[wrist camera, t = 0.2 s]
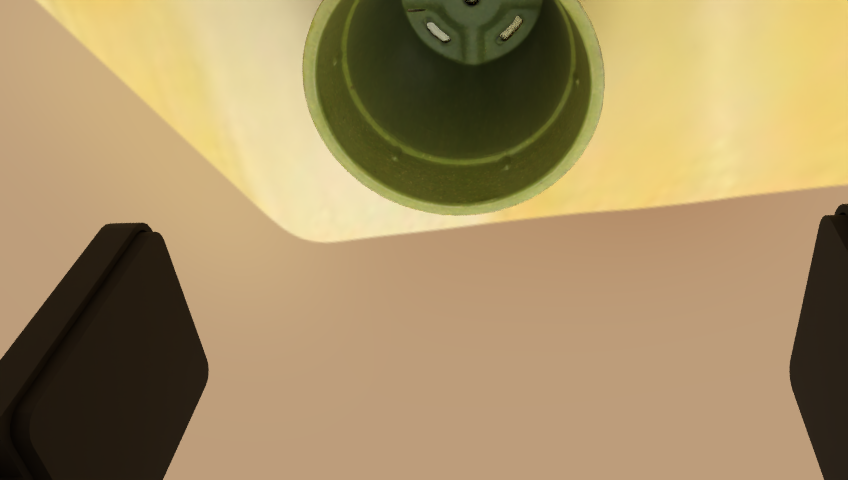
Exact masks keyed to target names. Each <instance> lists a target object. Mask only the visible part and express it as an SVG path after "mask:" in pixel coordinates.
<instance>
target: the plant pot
mask: <svg viewBox="0 0 848 480" xmlns="http://www.w3.org/2000/svg"><path fill="white" fill-rule="evenodd" d="M408 9H427V10H425V11H419V12H408V11H407V10H408ZM516 16H519V17H520V18H521V19H523V23H522V24H521V26H520V27H519V28H518V30H517V31H515V32H514V33H513V35H512V36H511V37H510V38H509V39H508V40H506V41H502V39H501V37H500V36H499V35H500V34H501V33H502V32H503V31H505V30H506V29H507V28H508V27H509V26H510V25H511V24H512V23H513V21H514V20H515V17H516ZM428 22H433V23H434V24H435V25H436V26H437V27H438V28H439V29H440V30H441V31H443V32H444V33H445V34H447V35H448V36H449V37H450V38H451V40H450V41H449V42H447V43H444V42H441V41H440V40H439V39H437V38H436V37H435V36H434V35H432V33H431V32H430V31H429V30H428V29H427V26H426V24H427V23H428ZM485 50H486V53H485ZM303 85H304V92H305V97H306V101H307V105H308V109H309V112H310V114H311V117H312V119H313V122H314V124H315V127H316V129H317V131H318V133H319V135H320V136H321V138H322V140H323V142H324V143H325V145H326V146H327V148H328V149H329V151H330V152H331V153H332V155H333V156H334V157H335V158H336V160H337V161H338V162H339V163H340V164H341V165H342V166H343V167H344V168H345V169H346V170H347V171H348V172H349V173H350V174H351V175H352V176H354V177H355V178H356V179H357V180H358V181H359V182H361V183H362V184H363V185H365V186H366V187H368V188H369V189H371V190H372V191H374V192H376V193H377V194H379V195H380V196H382V197H384V198H386V199H388V200H391V201H393V202H395V203H398V204H400V205H402V206H405V207H409V208H412V209H416V210H420V211H424V212H428V213H433V214H440V215H476V214H485V213H491V212H496V211H499V210H503V209H506V208H509V207H512V206H514V205H517V204H519V203H522V202H524V201H526V200H529V199H531V198H533V197H534V196H536V195H538V194H540V193H541V192H543V191H544V190H546V189H547V188H549V187H550V186H551V185H553V184H554V183H555V182H557V181H558V180H559V179H560V178H561V177H562V176H564V175H565V173H566V172H567V171H568V170H569V169H570V168H571V167H572V166H573V165H574V164H575V163H576V162H577V160H578V159H579V158H580V156H581V155H582V153H583V152H584V150H585V149H586V147H587V145H588V144H589V142H590V140H591V138H592V136H593V134H594V132H595V129H596V127H597V124H598V121H599V118H600V115H601V110H602V105H603V96H604V87H605V83H604V65H603V59H602V54H601V49H600V45H599V41H598V39H597V36H596V33H595V30H594V28H593V25H592V23H591V21H590V19H589V17H588V16H587V14H586V12H585V10H584V9H583V7H582V6H581V4H580V3H579V1H578V0H479V1H478V3H477V4H476V5H468V4H467V3H466V2H465V0H323V1H322V2H321V4H320V6H319V8H318V10H317V12H316V14H315V16H314V18H313V21H312V23H311V26H310V29H309V32H308V35H307V39H306V43H305V48H304V54H303Z"/></svg>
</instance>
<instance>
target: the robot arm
mask: <svg viewBox="0 0 848 480" xmlns="http://www.w3.org/2000/svg"><path fill="white" fill-rule="evenodd" d="M207 380H208V362H207V358H206V356H205V353H204V350H203V347H202V344H201V341H200V339H199V336H198V333H197V330H196V328H195V325H194V322H193V319H192V317H191V314H190V311H189V308H188V306H187V303H186V300H185V297H184V294H183V291H182V289H181V286H180V283H179V280H178V278H177V275H176V272H175V270H174V267H173V264H172V261H171V258H170V255H169V253H168V250H167V247H166V244H165V242H164V239H163V237H162V236H161V235H160V233H158V232H153V231H152V230H151V228H150V227H149V226H148V225H147V224H145V223H115V224H106V225H105V226H104V227H102V228H101V230H100V231H99V232H98V233H97V235H96V236H95V237H94V239H93V240H92V241H91V242H90V244H89V245H88V247H87V248H86V249H85V250H84V252H83V253H82V254H81V255H80V257H79V258H78V259H77V261H76V262H75V263H74V265H73V266H72V267H71V269H70V270H69V271H68V272H67V274H66V275H65V276H64V278H63V279H62V280H61V282H60V283H59V284H58V285H57V287H56V288H55V290H54V291H53V292H52V293H51V295H50V296H49V297H48V299H47V300H46V301H45V302H44V304H43V305H42V306H41V308H40V309H39V310H38V312H37V313H36V314H35V316H34V317H33V318H32V319H31V321H30V322H29V323H28V325H27V326H26V327H25V329H24V330H23V331H22V332H21V334H20V335H19V336H18V338H17V339H16V340H15V342H14V343H13V344H12V345H11V347H10V348H9V350H8V351H7V352H6V353H5V355H4V356H3V357H2V359H1V360H0V480H163V478H164V476H165V474H166V471H167V469H168V467H169V465H170V463H171V460H172V458H173V456H174V454H175V452H176V450H177V447H178V445H179V443H180V441H181V439H182V436H183V434H184V432H185V430H186V428H187V425H188V423H189V421H190V419H191V417H192V414H193V412H194V410H195V408H196V406H197V404H198V401H199V399H200V397H201V395H202V393H203V390H204V388H205V386H206V383H207ZM790 381H791V386H792V390H793V392H794V395H795V398H796V401H797V404H798V407H799V410H800V412H801V415H802V418H803V421H804V424H805V427H806V429H807V432H808V435H809V438H810V441H811V443H812V446H813V449H814V452H815V455H816V458H817V460H818V463H819V466H820V469H821V472H822V475H823V477H824V480H848V204H842V205H840V206H839V207H838V208H837V210H836V212H835V215H825V216H824V217H823V218H822V219H821V222H820V225H819V229H818V234H817V239H816V243H815V248H814V253H813V258H812V262H811V267H810V272H809V276H808V281H807V285H806V290H805V295H804V299H803V304H802V309H801V314H800V318H799V323H798V327H797V332H796V337H795V341H794V346H793V351H792V355H791V360H790Z"/></svg>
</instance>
